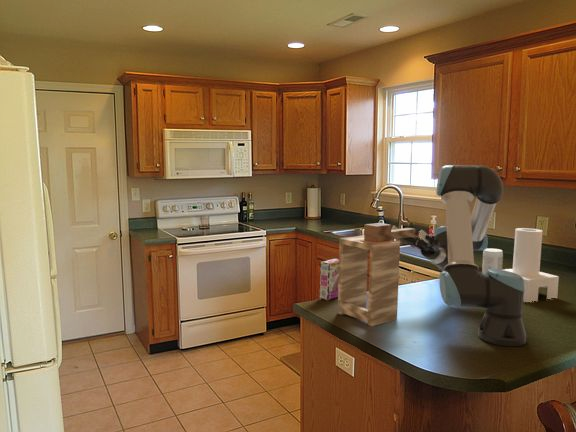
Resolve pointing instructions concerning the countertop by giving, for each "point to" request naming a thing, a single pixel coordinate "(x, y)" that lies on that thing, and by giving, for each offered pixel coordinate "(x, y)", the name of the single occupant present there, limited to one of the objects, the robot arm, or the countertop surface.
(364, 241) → the mat
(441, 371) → the countertop surface
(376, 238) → the mallet
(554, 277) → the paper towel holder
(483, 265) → the supplement tub
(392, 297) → the wooden open frame
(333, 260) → the candy bar box
